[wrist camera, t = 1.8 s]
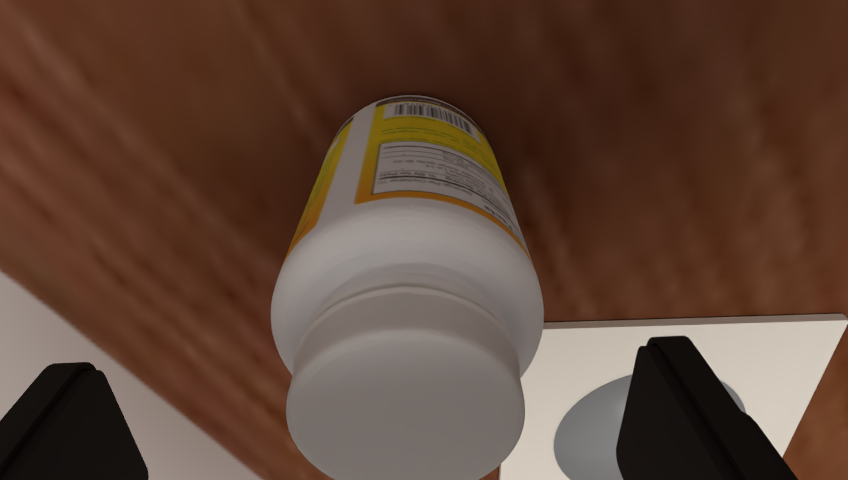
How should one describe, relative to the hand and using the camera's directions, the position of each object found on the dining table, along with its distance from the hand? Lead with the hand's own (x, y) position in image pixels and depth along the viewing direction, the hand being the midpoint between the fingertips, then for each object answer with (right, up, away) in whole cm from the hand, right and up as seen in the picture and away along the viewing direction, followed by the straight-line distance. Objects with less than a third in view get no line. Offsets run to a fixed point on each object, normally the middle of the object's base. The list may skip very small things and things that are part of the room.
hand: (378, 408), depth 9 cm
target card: (+11, -6, +14) cm, 19 cm away
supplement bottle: (0, +5, +8) cm, 10 cm away
